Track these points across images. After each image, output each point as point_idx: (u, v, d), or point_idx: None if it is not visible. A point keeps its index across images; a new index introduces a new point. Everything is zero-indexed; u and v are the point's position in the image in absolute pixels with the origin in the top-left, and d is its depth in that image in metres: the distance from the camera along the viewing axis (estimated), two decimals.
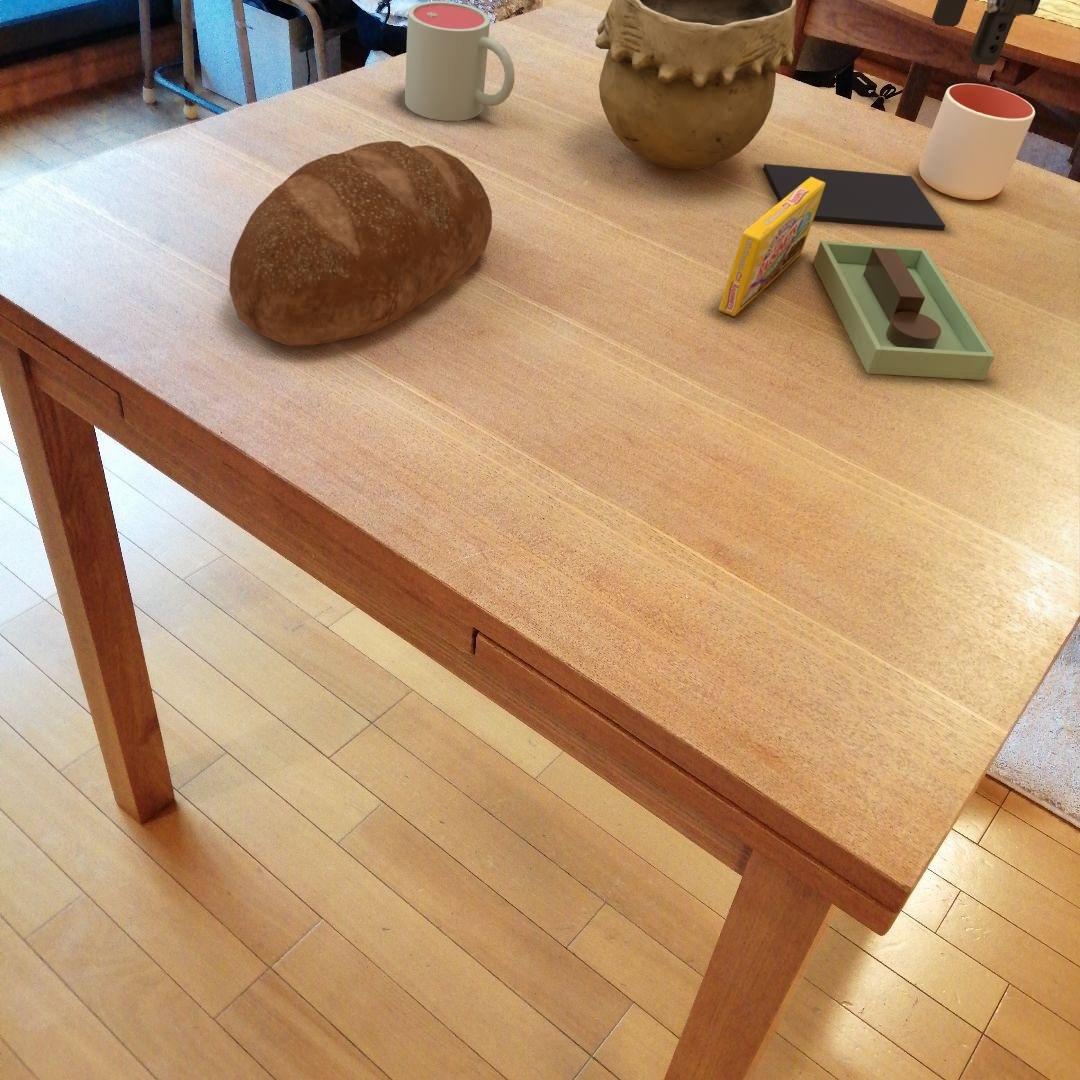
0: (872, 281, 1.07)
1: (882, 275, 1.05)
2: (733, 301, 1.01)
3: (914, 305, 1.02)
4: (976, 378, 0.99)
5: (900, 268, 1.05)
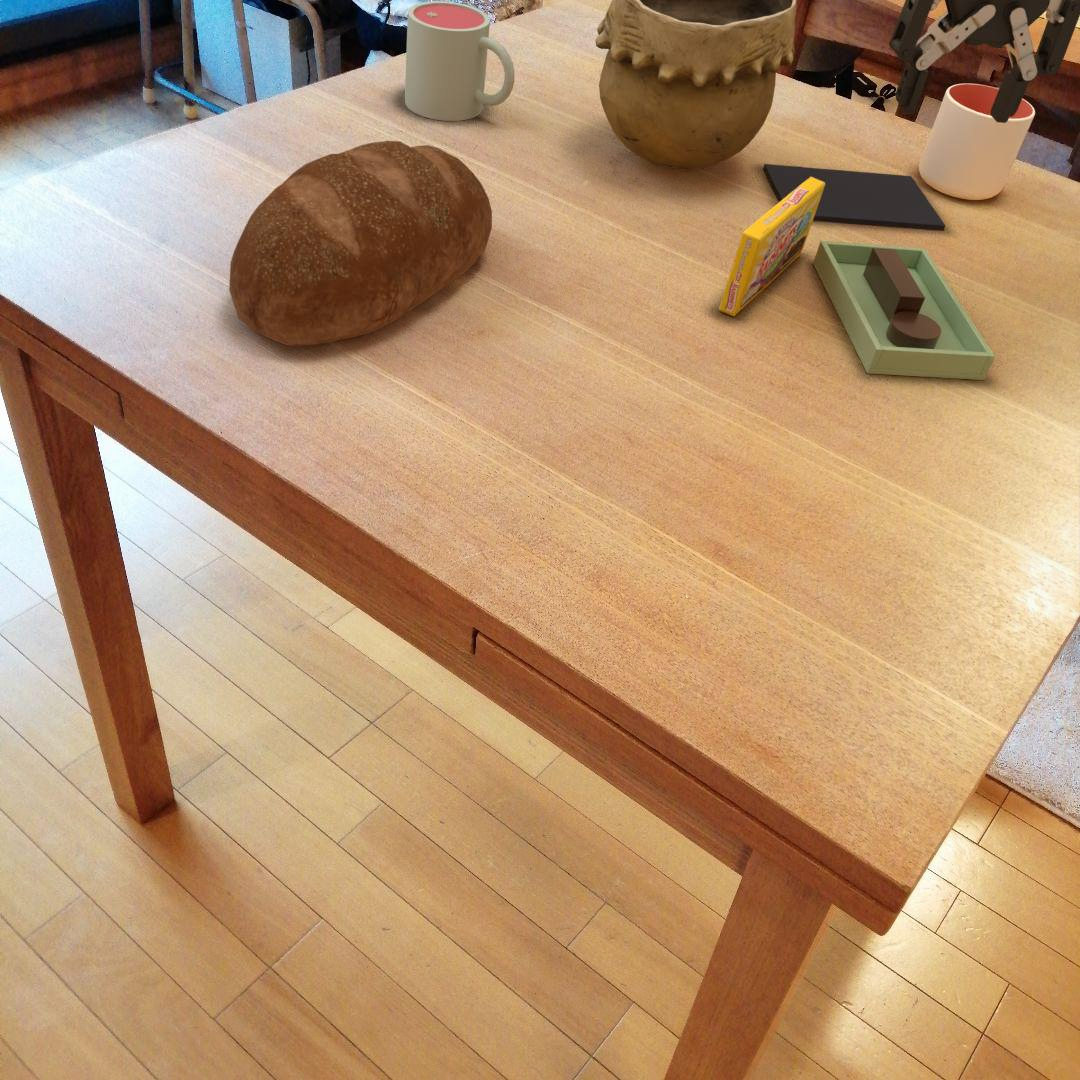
0: (872, 281, 1.07)
1: (882, 275, 1.05)
2: (733, 301, 1.01)
3: (914, 305, 1.02)
4: (976, 378, 0.99)
5: (900, 268, 1.05)
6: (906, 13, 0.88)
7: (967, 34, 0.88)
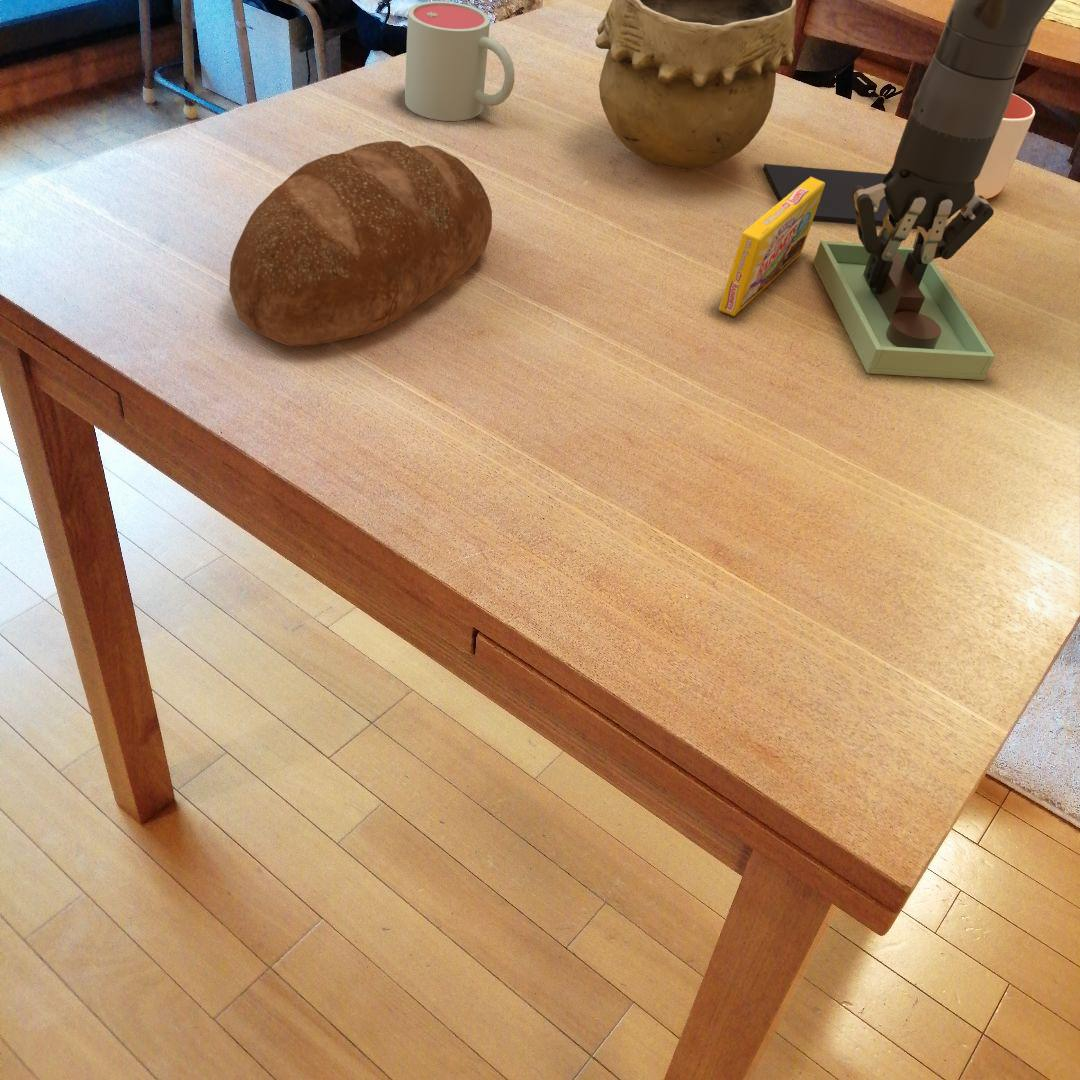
0: None
1: None
2: (733, 301, 1.01)
3: (914, 305, 1.02)
4: (976, 378, 0.99)
5: (899, 268, 1.05)
6: (858, 219, 1.01)
7: (902, 220, 0.99)
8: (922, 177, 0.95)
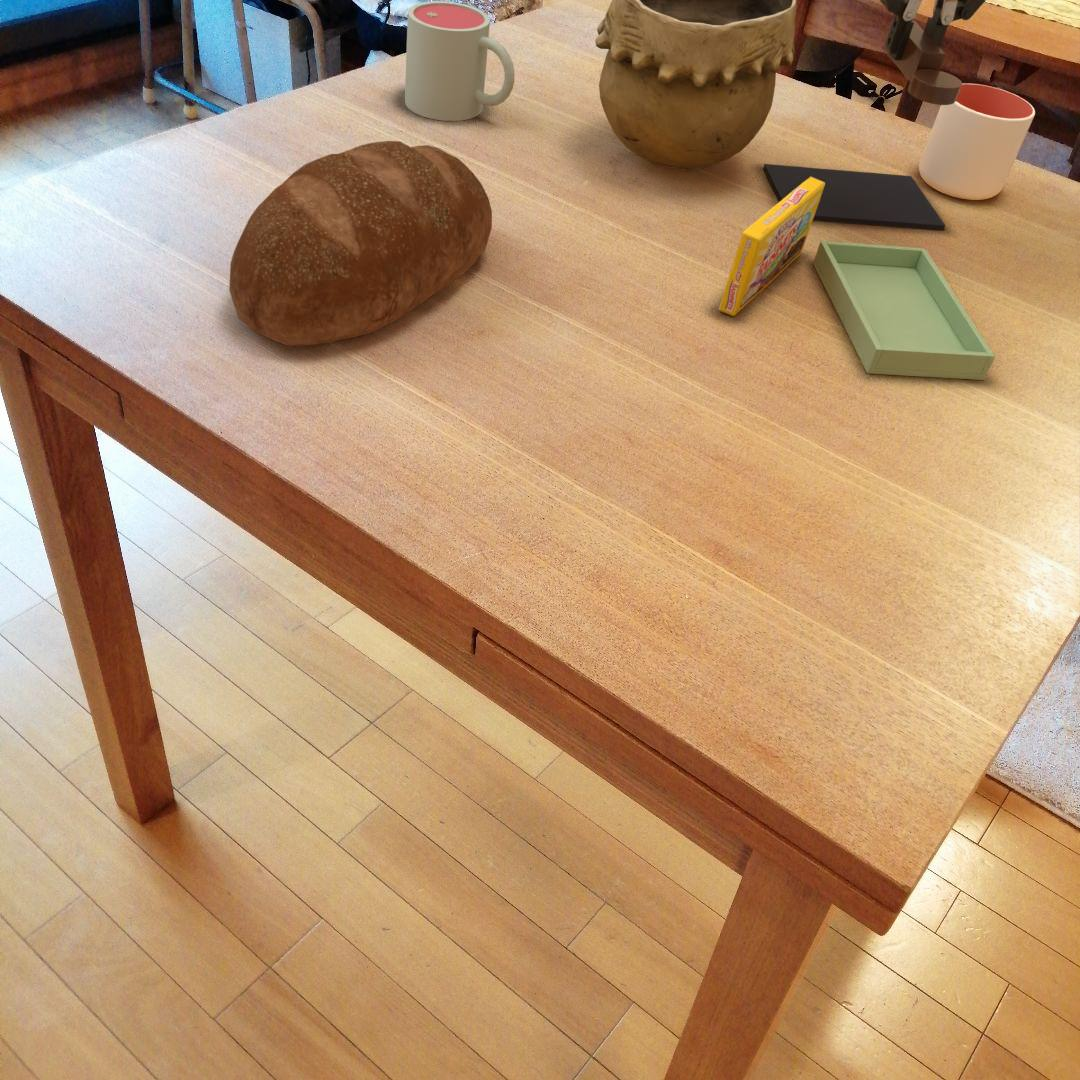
0: None
1: None
2: (733, 300, 1.01)
3: (935, 63, 1.04)
4: (976, 378, 0.99)
5: (920, 33, 1.07)
6: None
7: None
8: None
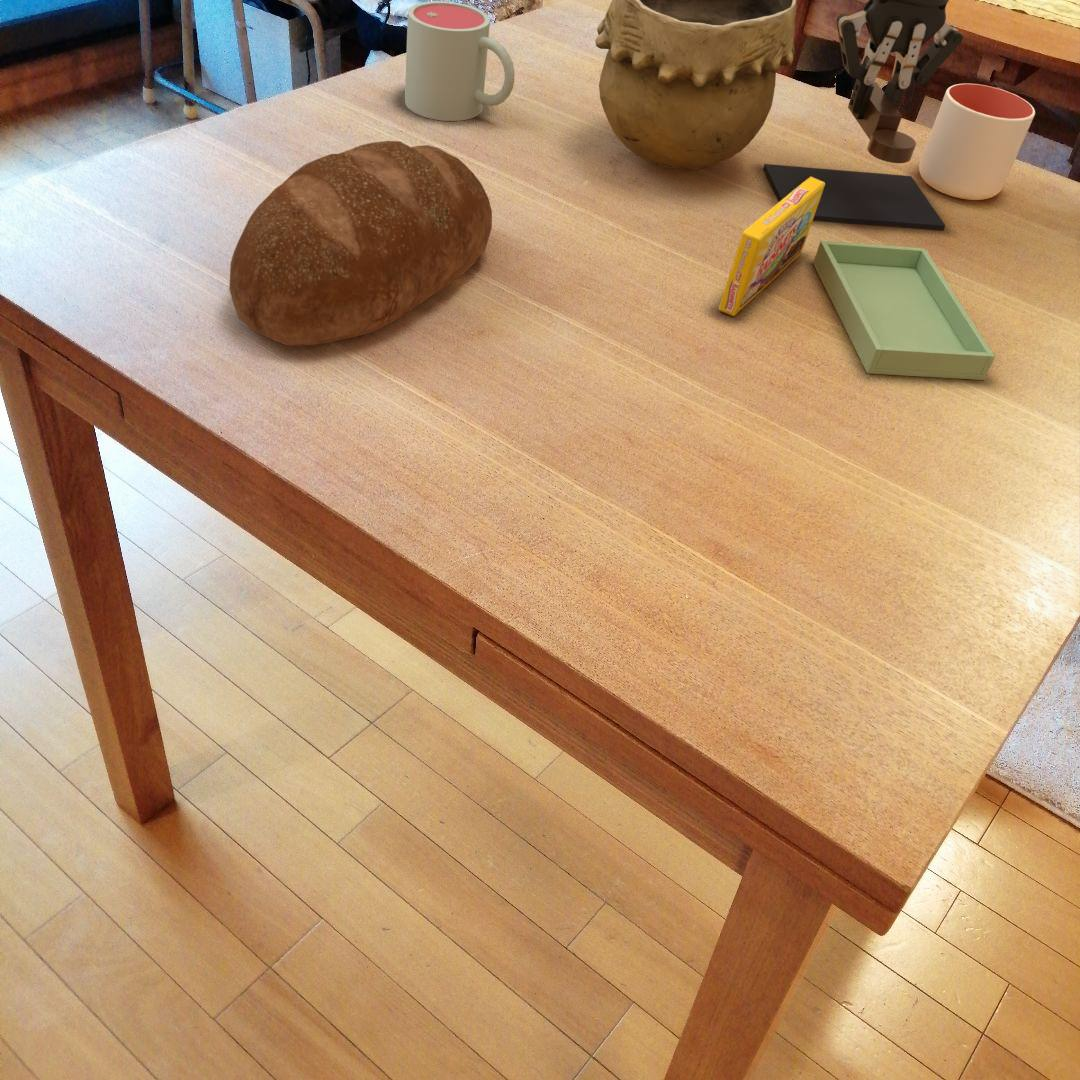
0: None
1: None
2: (733, 300, 1.01)
3: (892, 124, 1.14)
4: (976, 378, 0.99)
5: (880, 95, 1.17)
6: (842, 46, 1.13)
7: (881, 44, 1.12)
8: None
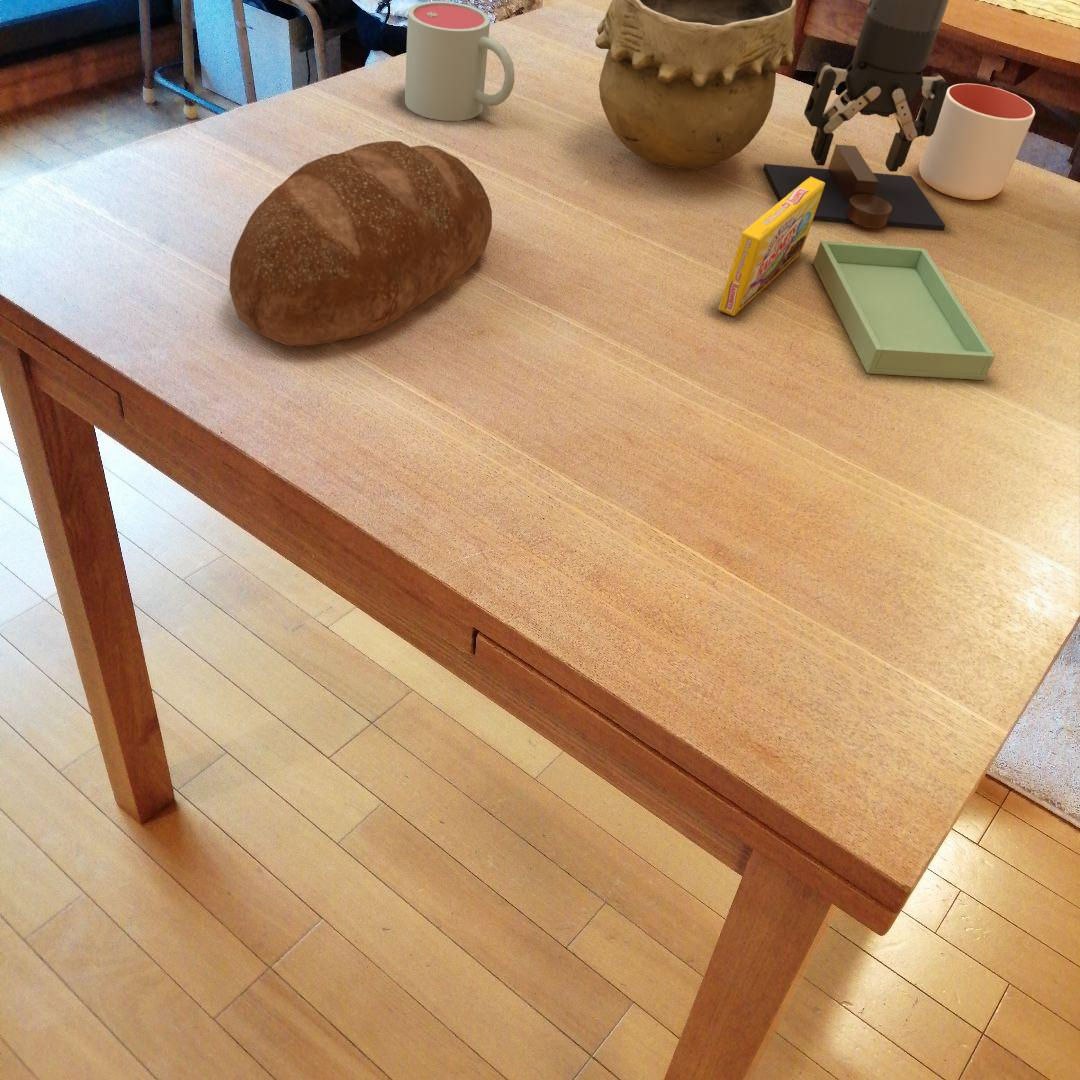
0: (835, 173, 1.25)
1: (843, 165, 1.23)
2: (733, 300, 1.01)
3: (870, 189, 1.19)
4: (976, 378, 0.99)
5: (858, 160, 1.22)
6: (815, 91, 1.17)
7: (861, 107, 1.16)
8: (876, 67, 1.12)
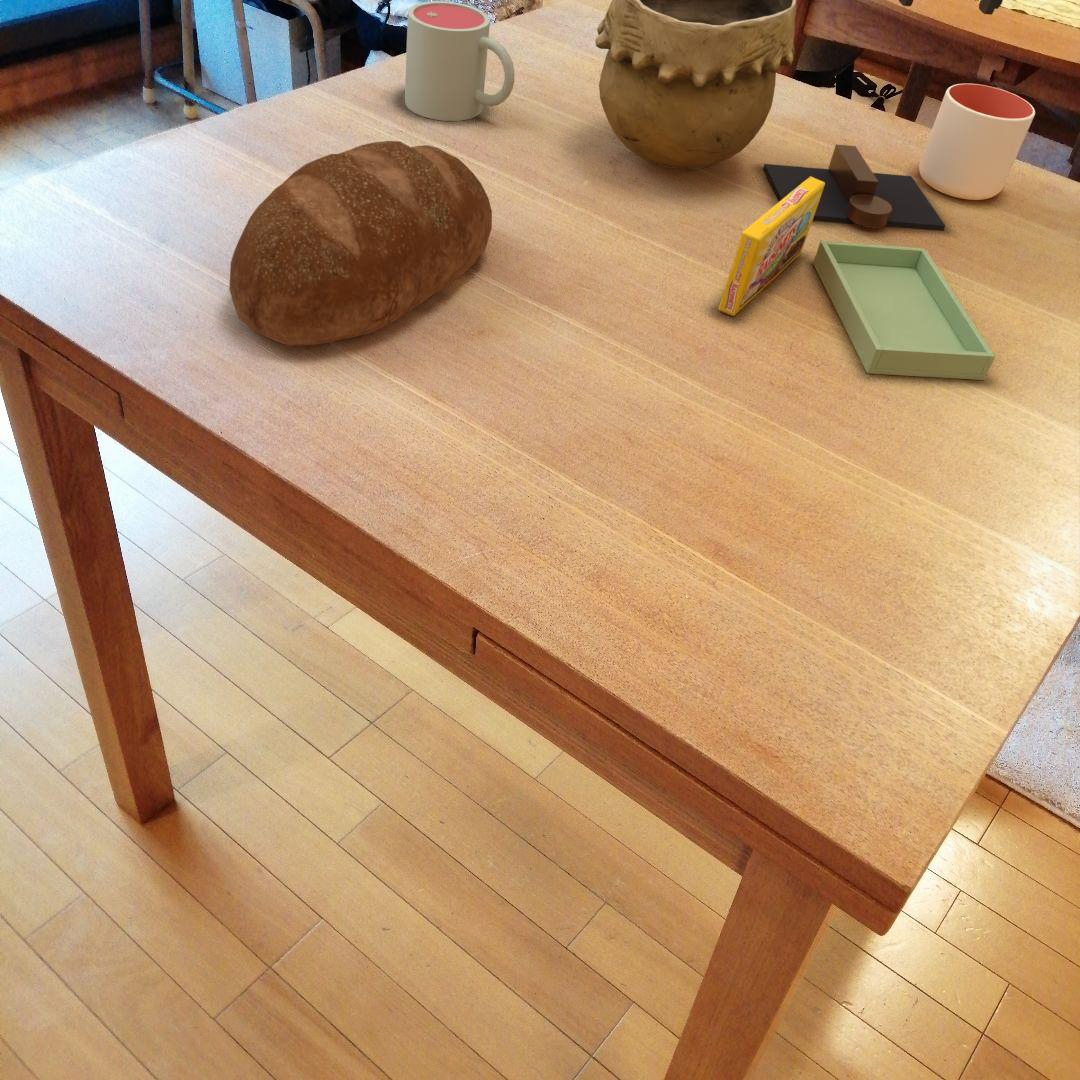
0: (835, 173, 1.25)
1: (843, 165, 1.23)
2: (733, 300, 1.01)
3: (870, 189, 1.19)
4: (976, 378, 0.99)
5: (858, 160, 1.22)
6: None
7: None
8: None
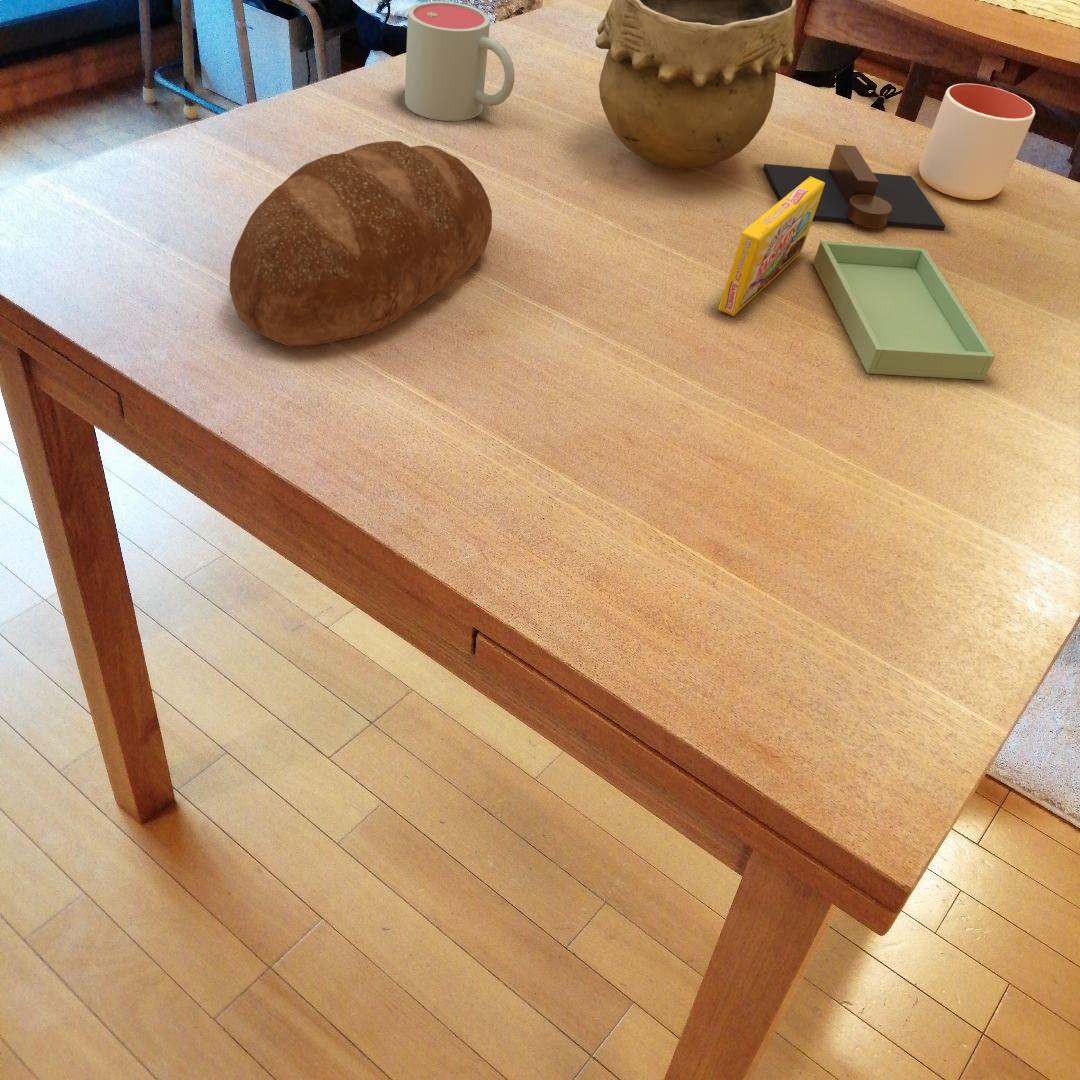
0: (835, 173, 1.25)
1: (843, 165, 1.23)
2: (733, 300, 1.01)
3: (870, 189, 1.19)
4: (976, 378, 0.99)
5: (858, 160, 1.22)
6: None
7: None
8: None
